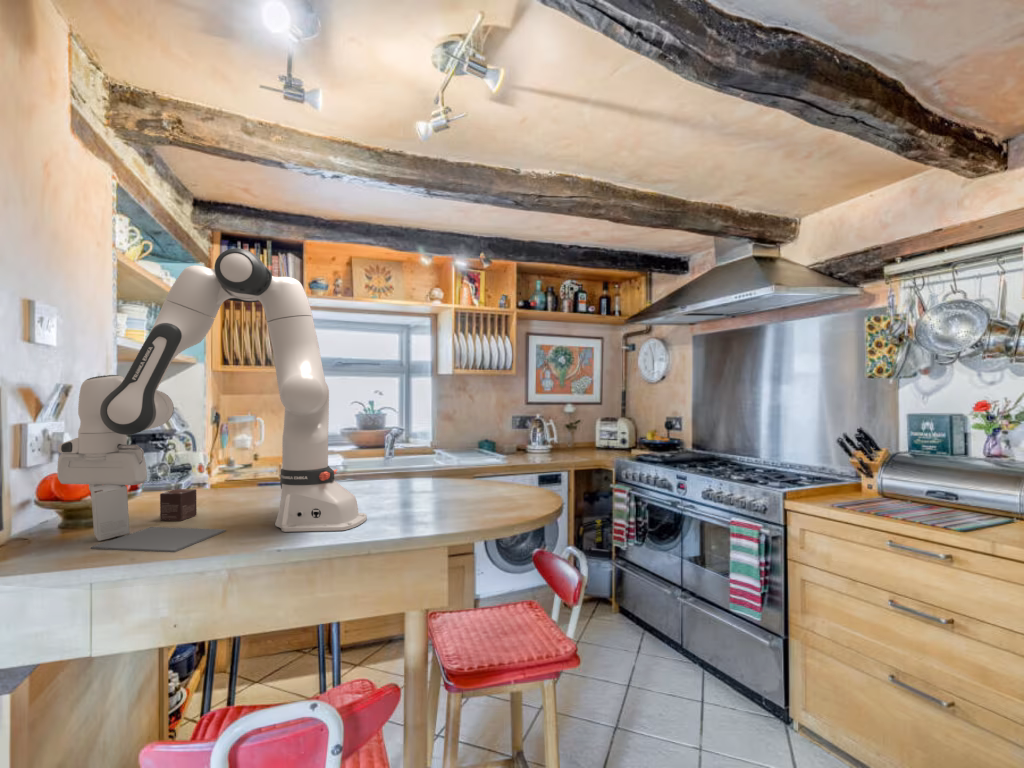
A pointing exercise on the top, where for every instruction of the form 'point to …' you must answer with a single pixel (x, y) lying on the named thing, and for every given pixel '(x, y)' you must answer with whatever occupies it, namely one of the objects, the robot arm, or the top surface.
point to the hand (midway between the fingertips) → (102, 503)
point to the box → (178, 505)
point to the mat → (159, 539)
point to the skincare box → (110, 511)
